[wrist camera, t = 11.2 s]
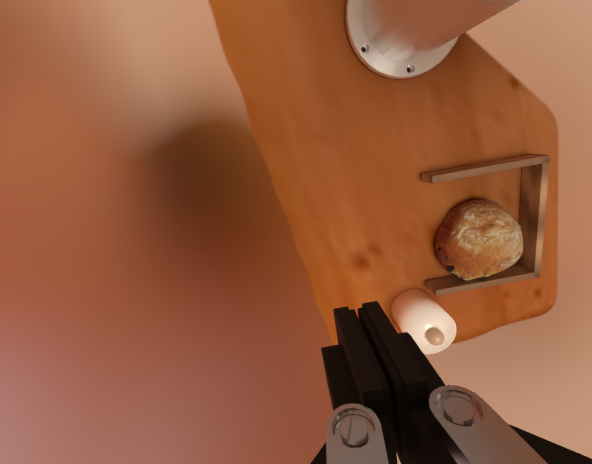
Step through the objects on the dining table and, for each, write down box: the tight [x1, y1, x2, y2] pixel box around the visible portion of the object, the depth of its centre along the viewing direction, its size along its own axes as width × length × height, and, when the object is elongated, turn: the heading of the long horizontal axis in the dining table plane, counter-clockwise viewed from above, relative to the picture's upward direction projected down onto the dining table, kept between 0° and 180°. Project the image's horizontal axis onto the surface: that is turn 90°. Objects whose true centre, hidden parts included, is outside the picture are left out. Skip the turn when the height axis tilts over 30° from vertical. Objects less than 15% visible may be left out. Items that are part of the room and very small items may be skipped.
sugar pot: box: [391, 289, 456, 354], centre depth 39 cm, size 6×6×8 cm
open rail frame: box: [420, 154, 550, 296], centre depth 38 cm, size 16×14×3 cm
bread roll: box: [435, 199, 523, 281], centre depth 38 cm, size 10×10×8 cm
